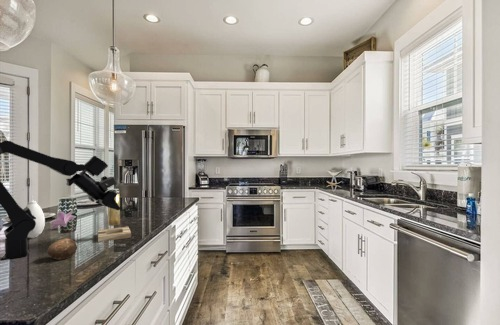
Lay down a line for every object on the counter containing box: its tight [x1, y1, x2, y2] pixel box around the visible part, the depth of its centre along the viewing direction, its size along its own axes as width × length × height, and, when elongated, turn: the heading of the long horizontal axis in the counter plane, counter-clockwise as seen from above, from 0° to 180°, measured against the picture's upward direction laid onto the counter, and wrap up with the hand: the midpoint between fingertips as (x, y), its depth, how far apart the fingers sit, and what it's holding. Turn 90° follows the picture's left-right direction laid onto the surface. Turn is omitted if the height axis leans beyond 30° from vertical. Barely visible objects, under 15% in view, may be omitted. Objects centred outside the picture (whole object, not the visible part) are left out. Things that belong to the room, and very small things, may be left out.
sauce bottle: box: [24, 194, 46, 239], centre depth 109 cm, size 8×8×18 cm
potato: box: [46, 238, 78, 261], centre depth 87 cm, size 8×8×6 cm
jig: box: [97, 226, 132, 243], centre depth 111 cm, size 12×12×2 cm
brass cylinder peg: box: [107, 193, 121, 227], centre depth 111 cm, size 4×4×13 cm
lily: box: [49, 210, 77, 230], centre depth 123 cm, size 11×11×9 cm
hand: (117, 208), depth 112 cm, fingers closed on brass cylinder peg, 4 cm apart
